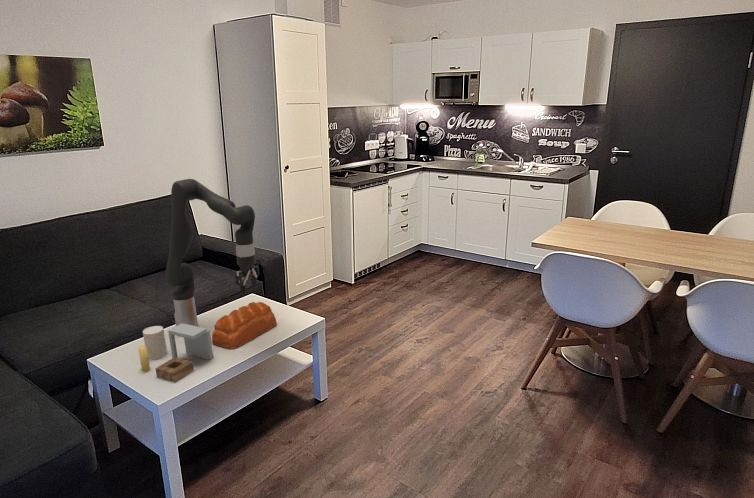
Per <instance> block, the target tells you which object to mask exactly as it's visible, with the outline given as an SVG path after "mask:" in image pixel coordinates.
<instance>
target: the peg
mask: <svg viewBox="0 0 754 498" xmlns="http://www.w3.org/2000/svg"><path fill="white" fill-rule="evenodd" d="M138 354H139V355H138V356H139V361H140V366H141V367H140V368H141V371H142V372H144V373H145V372H148V371H150V370H151V368H150V359H148V354H147V348H146V346H145V345H144V346H143V345H141V346H139V347H138Z"/></svg>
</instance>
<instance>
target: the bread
mask: <svg viewBox="0 0 754 498" xmlns="http://www.w3.org/2000/svg"><path fill="white" fill-rule="evenodd" d="M276 325H277V318H276V316H275V313H274V312H273V311H272V308H271V306H270V305H268V304H266V303H265V302H263V301H257V302H255V301H253V302H249V303H248V304H247V305H242V306H241V307H239V308H238V309H233V310H232V311H230V313H229V314H225V315H223V316H221V317H220V318H218V319H217V320H216V322H215V324H214V330H213V331H212V335H211V344H212V345H215V346H219V347H222V348H224V349H228V350H229V349H237V348H239V347H240V346H243V345H245V344H246V343H248V342H251V341H252V340H254V339H256V338H257V337H258V336H260V335H263V334H265V333H266V332H267V331H269V330H271V329H272V328H273V327H275V326H276Z"/></svg>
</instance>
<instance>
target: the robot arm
mask: <svg viewBox="0 0 754 498" xmlns="http://www.w3.org/2000/svg"><path fill="white" fill-rule="evenodd" d="M170 194H171V195H170V198H171V223H170V224H171V225H170V236H169V251H168V257H167V263H166V267H165V279H166V282H167V284H168V285H170V286H171V287H177V288H176V289H175V290H174V291H173V292H172V298H173V300H172V301H173V305H174V306H173V307H174V311H175V312H173V316H174V322H175V326H177V325H179V324H181V323H183V324H188V325H192V326H197V327H199V323H198V315H197V308H196V301H195V294H194V293H195V278H194V271H193V268H192V266H191V265H190V264H189V263H187V262H183V259H184V257H185V255H186V253H187V252H188V250H189V249H190V247H191V245H192V243H193V235H194V233H193V232H194V228H193V225H192V223H191V221H190V219H189V217H188V216H187V212H186V210H187V209H186V206H187V205H186V204H187V202H189V201H194V200H199V201H203V202H204V203H206V205H207V207H208V208H209V209H210V210H211V211H212V212H214V213H217V214H218V215H220V216H222V217H224V218H225V219H226V220H227V221H228V222H229V223H231V224H232V225H234V226H239V228H237V230H236V231H235V232H234V237H235V238H234V239H235V255H236V264H237V265H238V266H239V270H237V271H235V272H234V274H235V276H234V278H235V285H236V286H239V291H240V293H241V294H244V295H245V294H246V293H247V289H246V282H247V281H248V279H249V278H250V281H251V287H255V288H256V287H257V286H258V280H257V279H258V276H260V267H259V262H257V261H256V253H255V252H256V251H255V250H256V249H255V244H254V236H253V231H254V228H255V227H254V226H255V221H256V220H255V218H256V214H255V211H254V209H253V207H251V206H250V205H248V204H247V205H241V206H237V207H236V204H235V203H234V201H232V200H230V199H228V198H226V197H224V196H221V195H220V194H218V193H215V192H213V191H212V190H210V189H209V188H208V187H206V186H205V185H204V184H202V183H200V181H198V180H196V179H194V178H185V179H180V180H177V181H174V182H173V184H172V186H171V192H170Z"/></svg>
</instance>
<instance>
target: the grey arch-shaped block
mask: <svg viewBox="0 0 754 498" xmlns="http://www.w3.org/2000/svg"><path fill="white" fill-rule="evenodd" d="M167 333H168V339H169V344H170V350H171V351H170V352H171V357H172V358H174V357H177V358H179V356H178V351H177V350H178V348H177V345H176V344H177V343H176V337H175V336H177V337H181V338H183V340H184V346H185V353H186V355H190V356H195V357H199V358H203V359H206V360H209V361H210V360H213V359H214V354H213V346H212V345H213V343H212V336H211V331H210V329H207V328H205V327H200V326H198V327H197V326H192V325H188V324H183V323H181V324H179V325H177V326H176V325H175V326H174V327H171V328H170V329H168V330H167ZM172 358H171V359H172Z"/></svg>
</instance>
